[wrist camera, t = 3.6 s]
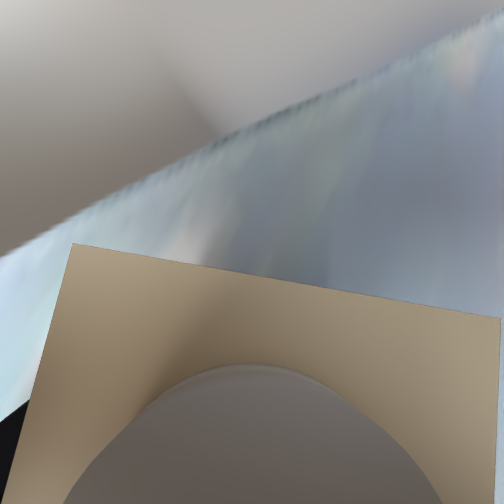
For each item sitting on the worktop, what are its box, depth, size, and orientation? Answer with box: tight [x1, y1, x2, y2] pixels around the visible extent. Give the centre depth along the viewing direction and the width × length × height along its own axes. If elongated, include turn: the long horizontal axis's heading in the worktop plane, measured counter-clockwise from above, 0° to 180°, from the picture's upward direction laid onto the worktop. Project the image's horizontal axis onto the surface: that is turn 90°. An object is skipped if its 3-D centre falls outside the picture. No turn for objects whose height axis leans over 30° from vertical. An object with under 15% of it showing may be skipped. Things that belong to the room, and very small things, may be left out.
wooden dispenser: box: [1, 243, 501, 504], centre depth 9 cm, size 6×6×12 cm
